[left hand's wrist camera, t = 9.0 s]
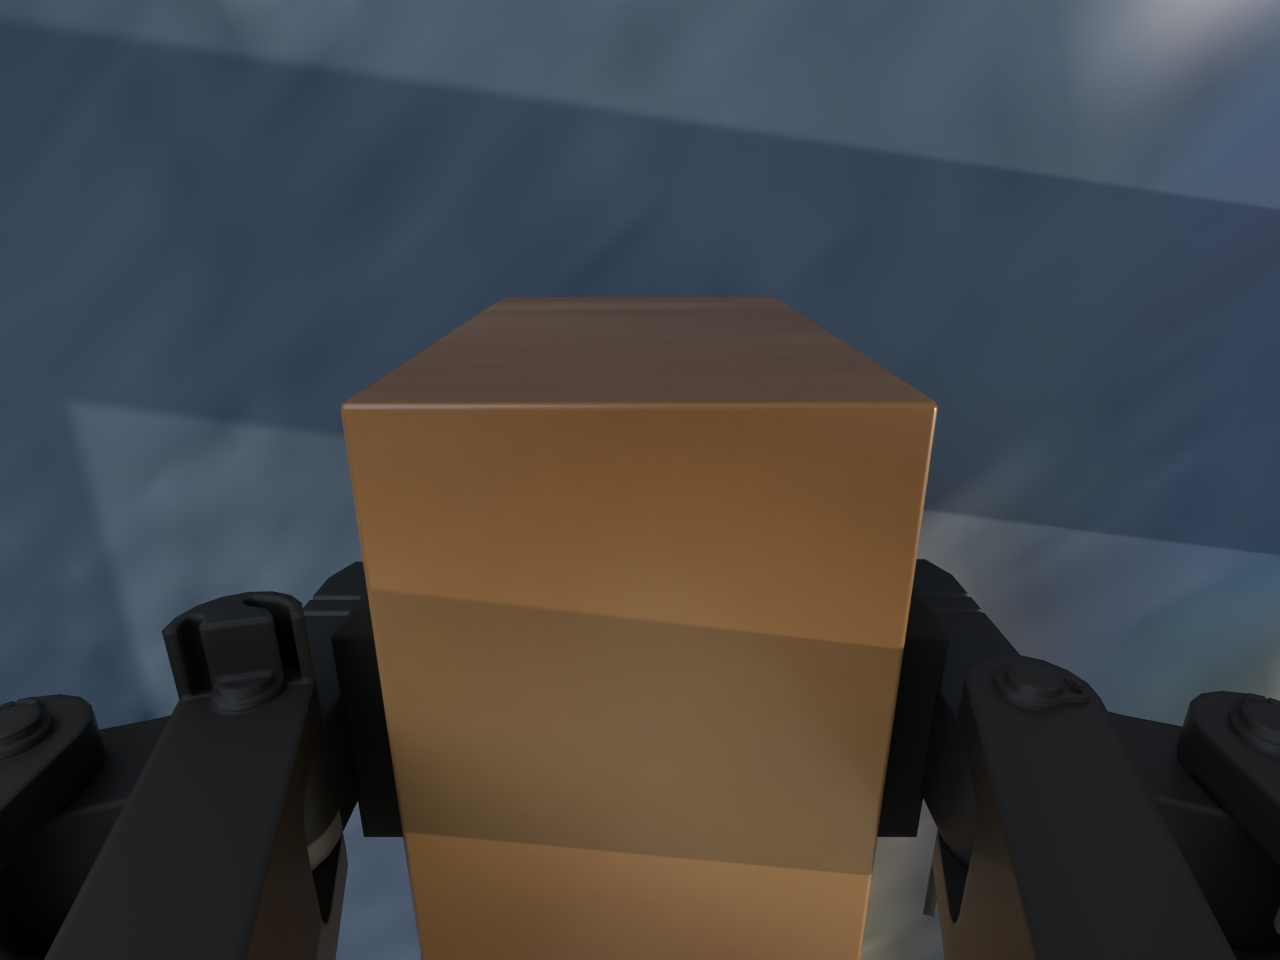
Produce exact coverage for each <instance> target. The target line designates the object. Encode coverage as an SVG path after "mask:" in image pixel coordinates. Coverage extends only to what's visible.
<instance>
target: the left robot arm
mask: <svg viewBox="0 0 1280 960" xmlns="http://www.w3.org/2000/svg"><path fill="white" fill-rule="evenodd" d="M162 633H163V637H164V641H165V645H166V649H167V653H168V657H169V661H170V665H171V668H172V672H173V676H174V680H175V684H176V688H177V692H178V696H179V701H178V703H177V705H176V707H175V709H174V711H173V713H172V715H170V716H166V717H162V718H158V719H153V720H148V721H143V722H137V723H132V724H127V725H122V726H117V727H112V728H106V729H101V730H99V728H98V725H97V722H96V718H95V715H94V712H93V709H92V705H90V704H89V703H88V702H86V701H85V700H84V699H82V698H81V697H76V696H68V695H61V694H58V695H49V696H40V697H29V698H24V699H19V700H17V702H13V701H12V702H9V703H5V704H2V705H0V960H335V958H336V951H337V943H338V936H339V928H340V920H341V913H342V905H343V898H344V890H345V883H346V875H347V868H348V862H347V854H346V847H345V842H344V836H343V831H344V828H345V826H346V824H347V822H348V820H349V818H350V816H351V814H352V812H353V810H354V807H355V805H356V803H357V801H358V803H359V809H360V815H361V821H362V827H363V833H364V837H403V832H402V825H401V818H400V811H399V804H398V797H397V791H396V784H395V777H394V770H393V763H392V757H391V750H390V743H389V736H388V729H387V722H386V716H385V709H384V702H383V695H382V688H381V682H380V675H379V668H378V661H377V654H376V648H375V641H374V634H373V627H372V620H371V613H370V607H369V600H368V593H367V586H366V579H365V573H364V566H363V562H355V563H353V564H351V565H350V566H348V567H346V568H344V569H343V570H341V571H339V572H338V573H336V574H334V575H333V576H331V577H329V578H328V579H327V581H326V582H325V583H324V584H323V585H322V586H321V588H320V589H319V590H318V591H317V592H316V594H315V595H314V596H313V600H310V601H309V602H308V603H307V604H306V605H305V607H304V608H302V603H301V602H300V601H298V600H297V599H296V598H294V597H293V596H291V595H288V594H283V593H278V592H273V591H268V592H246V593H241V594H236V595H230V596H225V597H221V598H218V599H215V600H212V601H209V602H207V603H204V604H201V605H198V606H196V607H194V608H192V609H190V610H188V611H187V612H185V613H183V614H181V615H179V616H178V617H176V618H175V619H174V620H173V621H172V622H171V623H170V624H169V625H167V626H166V627H165V628H164V629H163V630H162ZM923 798H924V800H925V802H926V805H927V807H928V809H929V811H930V813H931V815H932V817H933V819H934V821H935V823H936V825H937V827H938V831H937V836H936V842H935V847H934V853H933V859H932V864H931V870H930V875H929V881H928V887H927V892H926V898H925V905H924V912H923V914H925V915H930V916H934V911H935V906H936V900H937V904H938V911H939V919H940V926H941V934H942V941H943V949H944V956H945V960H1280V701H1278V700H1275V699H1272V698H1268V699H1266V698H1265V696H1260V695H1255V694H1250V693H1247V694H1245V693H1236V692H1227V691H1218V692H1210V693H1203V694H1200V695H1199V696H1198V697H1196V698H1195V699H1194V700H1192V701H1191V702H1190V705H1189V708H1188V711H1187V714H1186V718H1185V721H1184V724H1183V727H1182V726H1176V725H1171V724H1166V723H1161V722H1156V721H1150V720H1145V719H1140V718H1135V717H1129V716H1124V715H1120V714H1116V713H1112V712H1108V711H1107V710H1106V708H1105V706H1104V704H1103V702H1102V700H1101V698H1100V697H1099V696H1098V695H1097V694H1096V692H1095V691H1094V690H1093V689H1092V688H1091V687H1090V685H1089V684H1088V683H1086V682H1085V681H1083V680H1082V679H1080V678H1079V677H1077V676H1076V675H1074V674H1073V673H1071V672H1070V671H1068V670H1066V669H1063V668H1061V667H1058V666H1056V665H1053V664H1051V663H1048V662H1046V661H1043V660H1039V659H1035V658H1030V657H1026V656H1021V655H1020V654H1019V653H1018V652H1017V651H1016V650H1015V648H1014V647H1013V646H1012V645H1011V644H1010V643H1009V641H1008V640H1007V639H1006V638H1005V637H1004V636H1003V634H1002V633H1001V632H1000V631H999V630H998V629H997V627H996V626H995V625H994V624H993V623H992V621H991V620H990V619H989V618H988V617H987V616H986V614H985V613H981V609H980V607H979V606H978V605H977V604H976V603H975V601H974V600H973V599H972V598H971V597H968V593H967V592H966V591H965V590H964V589H963V587H962V586H961V585H960V584H959V583H958V581H957V580H956V579H955V578H954V577H953V576H952V575H951V574H949V573H948V572H946V571H944V570H942V569H941V568H939V567H937V566H936V565H934V564H932V563H930V562H929V561H927V560H925V559H916V566H915V573H914V580H913V587H912V594H911V601H910V608H909V615H908V622H907V629H906V636H905V644H904V651H903V658H902V665H901V672H900V679H899V686H898V693H897V700H896V707H895V714H894V721H893V728H892V736H891V743H890V750H889V757H888V764H887V771H886V778H885V785H884V792H883V799H882V806H881V813H880V820H879V828H878V835H877V837H917V831H918V825H919V819H920V813H921V807H922V801H923Z"/></svg>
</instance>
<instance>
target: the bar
mask: <svg viewBox="0 0 1280 960" xmlns="http://www.w3.org/2000/svg"><path fill="white" fill-rule="evenodd" d="M937 410H938V407H937V404H936V402H935V401H934V400H932V399H931V398H929V397H927V396H926V395H924V394H923V393H921V392H920V391H918V390H917V389H915V388H914V387H912V386H911V385H909V384H908V383H906V382H905V381H903V380H902V379H900V378H899V377H897V376H895V375H894V374H892V373H891V372H889V371H888V370H886V369H885V368H883V367H882V366H880V365H879V364H877V363H876V362H874V361H873V360H871V359H870V358H868V357H867V356H865V355H864V354H862V353H860V352H859V351H857V350H856V349H854V348H853V347H851V346H850V345H848V344H847V343H845V342H844V341H842V340H841V339H839V338H838V337H836V336H835V335H833V334H832V333H830V332H828V331H827V330H825V329H824V328H822V327H821V326H819V325H818V324H816V323H815V322H813V321H812V320H810V319H809V318H807V317H806V316H804V315H803V314H801V313H800V312H798V311H796V310H795V309H793V308H792V307H790V306H789V305H787V304H786V303H784V302H783V301H781V300H780V299H778V298H777V297H774V296H652V297H504V298H502V299H501V300H499V301H498V302H496V303H495V304H493V305H492V306H490V307H489V308H487V309H486V310H484V311H483V312H481V313H479V314H478V315H476V316H475V317H473V318H472V319H470V320H469V321H467V322H466V323H464V324H463V325H461V326H460V327H458V328H457V329H455V330H454V331H452V332H450V333H449V334H447V335H446V336H444V337H443V338H441V339H440V340H438V341H437V342H435V343H434V344H432V345H431V346H429V347H428V348H426V349H424V350H423V351H421V352H420V353H418V354H417V355H415V356H414V357H412V358H411V359H409V360H408V361H406V362H405V363H403V364H402V365H400V366H399V367H397V368H395V369H394V370H392V371H391V372H389V373H388V374H386V375H385V376H383V377H382V378H380V379H379V380H377V381H376V382H374V383H373V384H371V385H369V386H368V387H366V388H365V389H363V390H362V391H360V392H359V393H357V394H356V395H354V396H353V397H351V398H350V399H348V400H347V401H345V402H343V403H342V406H341V416H342V423H343V430H344V436H345V443H346V450H347V457H348V464H349V470H350V477H351V484H352V491H353V498H354V504H355V511H356V518H357V525H358V532H359V539H360V545H361V552H362V559H363V566H364V573H365V579H366V586H367V593H368V600H369V607H370V613H371V620H372V627H373V634H374V641H375V648H376V654H377V661H378V668H379V675H380V682H381V688H382V695H383V702H384V709H385V716H386V722H387V729H388V736H389V743H390V750H391V757H392V763H393V770H394V777H395V784H396V791H397V797H398V804H399V811H400V818H401V825H402V832H403V838H404V845H405V852H406V859H407V866H408V872H409V879H410V886H411V893H412V900H413V906H414V913H415V920H416V927H417V934H418V941H419V947H420V954H421V960H860V955H861V948H862V941H863V934H864V927H865V920H866V913H867V905H868V898H869V891H870V884H871V877H872V870H873V863H874V856H875V849H876V842H877V835H878V828H879V820H880V813H881V806H882V799H883V792H884V785H885V778H886V771H887V764H888V757H889V750H890V743H891V736H892V728H893V721H894V714H895V707H896V700H897V693H898V686H899V679H900V672H901V665H902V658H903V651H904V644H905V636H906V629H907V622H908V615H909V608H910V601H911V594H912V587H913V580H914V573H915V566H916V559H917V552H918V544H919V537H920V530H921V523H922V516H923V509H924V502H925V495H926V488H927V481H928V474H929V467H930V460H931V452H932V445H933V438H934V431H935V424H936V417H937Z"/></svg>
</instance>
